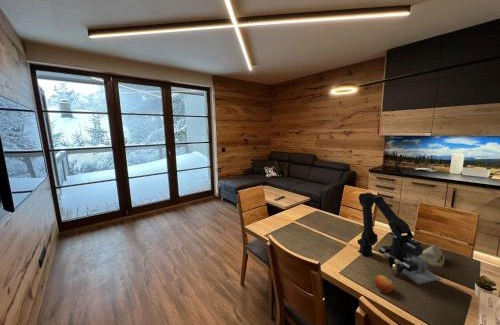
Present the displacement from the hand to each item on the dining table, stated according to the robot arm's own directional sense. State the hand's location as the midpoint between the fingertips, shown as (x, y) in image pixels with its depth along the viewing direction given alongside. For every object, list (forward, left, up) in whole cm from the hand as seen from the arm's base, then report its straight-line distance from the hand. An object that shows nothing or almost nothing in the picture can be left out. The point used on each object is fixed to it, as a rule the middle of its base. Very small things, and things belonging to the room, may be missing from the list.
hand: (395, 271), depth 113 cm
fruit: (-15, -7, -2) cm, 16 cm away
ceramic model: (+33, +6, -3) cm, 33 cm away
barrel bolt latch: (+12, 0, -2) cm, 13 cm away
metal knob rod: (+7, 0, -1) cm, 7 cm away
